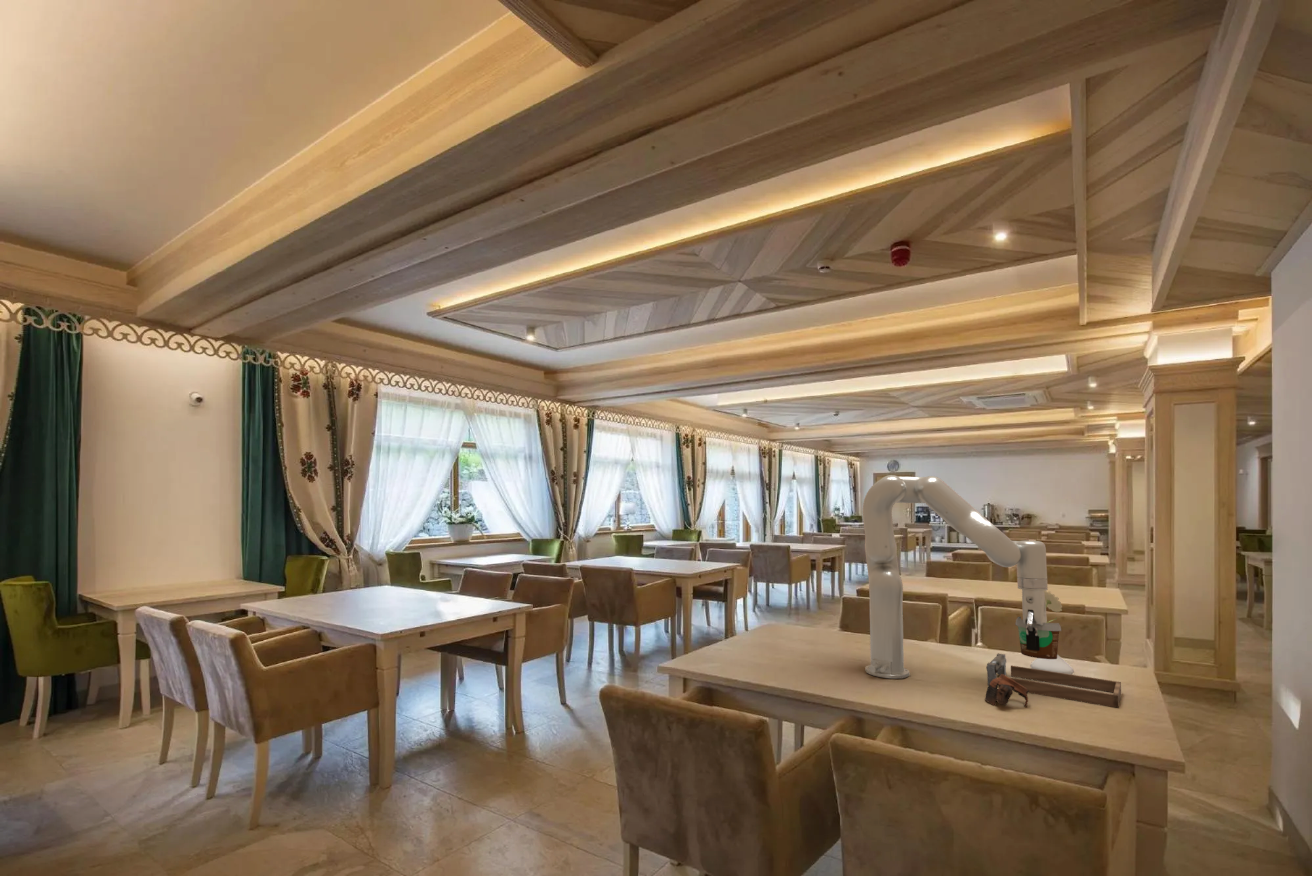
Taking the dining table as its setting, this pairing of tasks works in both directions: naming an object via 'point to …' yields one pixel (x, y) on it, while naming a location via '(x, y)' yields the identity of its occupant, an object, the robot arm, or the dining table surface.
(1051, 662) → the flower in vase
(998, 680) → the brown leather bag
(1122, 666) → the dining table surface
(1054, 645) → the food container
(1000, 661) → the grey arched handle
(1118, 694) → the long wooden tray
